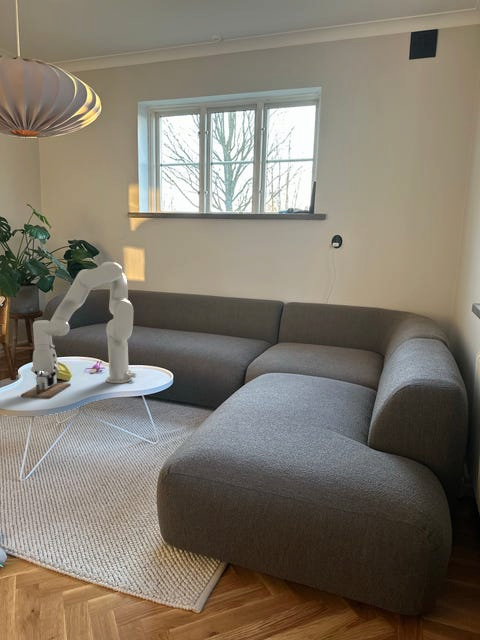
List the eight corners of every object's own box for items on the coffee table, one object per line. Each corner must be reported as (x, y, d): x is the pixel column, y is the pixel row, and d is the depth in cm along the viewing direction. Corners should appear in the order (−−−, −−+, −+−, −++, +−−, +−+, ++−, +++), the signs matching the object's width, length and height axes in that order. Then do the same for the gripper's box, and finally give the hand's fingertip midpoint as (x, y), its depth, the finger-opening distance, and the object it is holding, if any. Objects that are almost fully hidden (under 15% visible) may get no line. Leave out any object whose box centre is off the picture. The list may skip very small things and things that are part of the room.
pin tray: (70, 385, 208) (69, 375, 207) (50, 398, 190) (49, 387, 189) (43, 384, 209) (43, 374, 209) (21, 397, 192) (20, 386, 191)
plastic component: (73, 376, 216) (53, 370, 210) (67, 389, 216) (46, 384, 210) (65, 364, 232) (46, 358, 227) (59, 376, 232) (40, 371, 226)
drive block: (56, 382, 205) (56, 370, 204) (45, 389, 195) (44, 377, 194) (49, 382, 205) (48, 370, 204) (37, 389, 195) (35, 376, 194)
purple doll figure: (108, 359, 237) (101, 371, 226) (110, 364, 238) (102, 376, 227) (89, 360, 238) (81, 372, 227) (90, 365, 239) (82, 377, 228)
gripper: (64, 345, 199) (67, 383, 202) (31, 344, 201) (34, 381, 204) (56, 349, 192) (59, 388, 195) (21, 348, 194) (25, 386, 197)
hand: (46, 384), depth 199 cm, fingers closed on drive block, 4 cm apart
